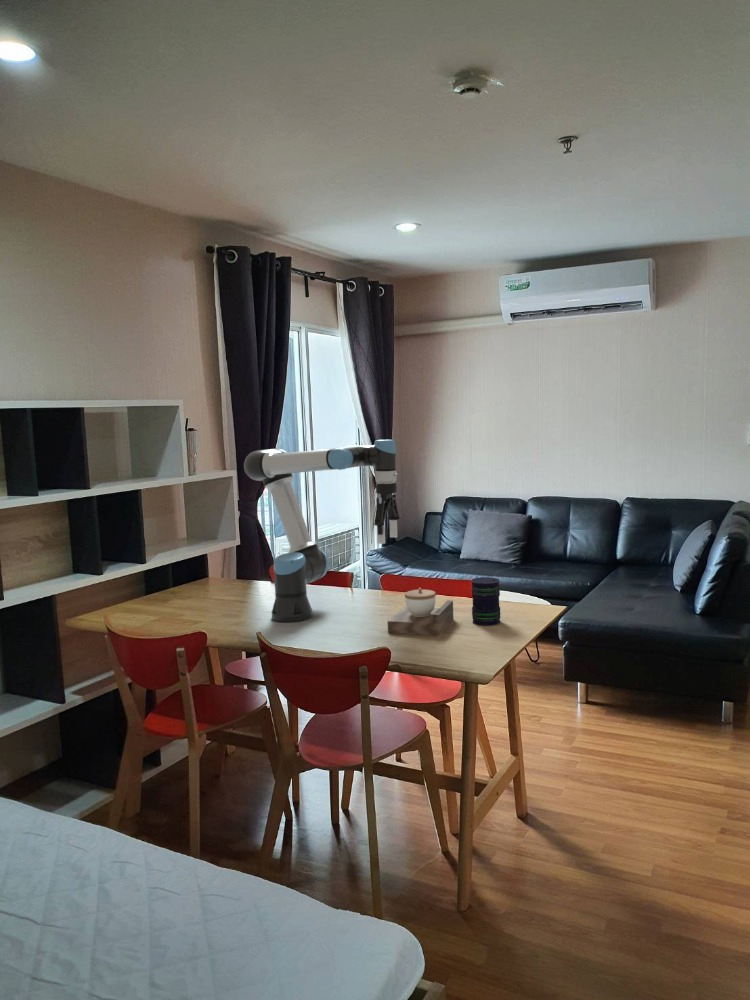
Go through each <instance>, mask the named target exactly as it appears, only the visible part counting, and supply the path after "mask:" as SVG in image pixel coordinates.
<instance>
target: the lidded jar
mask: <svg viewBox="0 0 750 1000" xmlns="http://www.w3.org/2000/svg"><path fill="white" fill-rule="evenodd" d="M436 594H437V593H436V591H434V590H432V589H422V587H418V589H412V590H408V591H406V592H405V593H404V599H405V600H404V601H405V607H407V609H408V611H409V612H410V613H411V614H412V616H415V617H426V616H429V615H430V613H431V612H432V611H433V609H434V608H436V606H435V605H436V596H437V595H436Z"/></svg>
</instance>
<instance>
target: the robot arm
mask: <svg viewBox="0 0 750 1000" xmlns="http://www.w3.org/2000/svg"><path fill="white" fill-rule="evenodd" d="M396 454H397V451H396V442H395V440H393V439H377V440H376V439H375V441H374V444H373V445H357V444H354V445H347V446H344V447H343V446H342V447H337V448H335V447H333V448H326V449H324V448H323V449H313V450H304V451H303V450H302V451H296V452H295V451H292V452H288V451H286V450H284V449H282V448H270V449H269V448H268V449H260V450H259V449H258V450H254V451H252V452H250V453H249V454H248V455H247V456H246V457H245V459H244V462H243V469H244V473H245V474H246V475H247V477H249V478H250V479H251V480H253V481H258V482H262V483H263V486H264V488H265V489H267V490H269V491H270V495H271V497H272V499H273V502H274V506H275V508H276V510H277V514H278V517H279V519H280V522H281V526H282V528H283V530H284V533H285V537H286V539H287V542H288V545H289V547H290V549H289V551H288V552H286V553H282V554H279V555H277V556H276V557H275V558H274V560H273V568H272V569H273V576H274V577H273V578H274V595H275V596H274V597H275V598H274V602H273V606H272V610H271V619H272V620H273V621H275V622H278V623H279V622H280V623H281V622H282V623H292V622H301V621H307V620H309V619H311V618H312V617H313V608H312V606H311V602H310V601H309V598H308V594H307V592H308V590H307V584H310V583H313V582H316V581H319V580H320V579H321V578H323V577H324V576H326V574H327V572H328V570H329V565H330V563H329V558H328V556H327V554H326V553H325V552H324V551H323V550H322V549H319V547H318V543H317V542H315V541H313V540H312V538H311V536H310V533H309V530H308V526H307V524H306V522H305V521H306V520H305V518H304V516H303V513H302V509H301V507H300V505H299V501H298V499H297V496H296V494H295V491H294V488H293V486H292V485H293V484H292V481H293V478H294V476H293V474H298V473H309V472H310V473H311V472H323V471H331V470H332V471H333V470H334V471H335V470H339V471H340V470H341V471H342V470H347V469H351V468H357V467H358V468H359V467H374V468H375V471H374V472H375V478H374V479H375V482H376V484H375V494H378V495H380V497H377V498H376V507H375V517H374V523H373V524H374V526H376V535H377V536H376V537H377V539H376V540H377V541H376V542H377V544H380V545H381V544H383V545H384V544H386V525H385V521H386V516H387V513H388V516H389V518H390V519H389V521H388V523H389V538H395V539H396V538H398V520H400V515H399V514H400V513H399V509H398V505H397V504H398V503H397V499H396V496H397V495H396V493H397V490H398V488H397V483H396V482H397V476H398V473H397V463H396V462H397V458H396V457H397V455H396Z"/></svg>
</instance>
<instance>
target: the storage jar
mask: <svg viewBox="0 0 750 1000" xmlns="http://www.w3.org/2000/svg"><path fill="white" fill-rule="evenodd" d="M470 582H471V597H472V607H471V616H472V624H473V625H476V626H480V627H481V626H482V627H492V626H493V627H494V626H496V625H500V624H501V619H500V618H501V606H500V595H501V589H500V588H501V587H500V579H499V578H495V577H488V576H487V577H476V578H472V579H471V581H470Z"/></svg>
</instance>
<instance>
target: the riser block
mask: <svg viewBox="0 0 750 1000" xmlns="http://www.w3.org/2000/svg"><path fill="white" fill-rule="evenodd" d="M454 620H455V619H454V600H446V601H445V602H444V603H443V604H442V605H441V606H440V607H438V608H437V607H434V609H433V611H432V612H431V613H430V615H429V616H426V617H415V616H412V614H411V613H410V612H409V611H408V609H407V607H406V606H404V607H403V608H401V609H400V610H399V611H398V612H397V613H396V614H395V615H393V616H391V618H390V619H388V620H387V633H388V632H389V633H391V634H403V633H415V634H414V635H421V634H427V635H426V636H439V635H440V636H441V635H442V633H444V631H445V630H446V629H447V628H448V627H449V625H450V624H451V623H453V622H454ZM428 634H429V635H428Z"/></svg>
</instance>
